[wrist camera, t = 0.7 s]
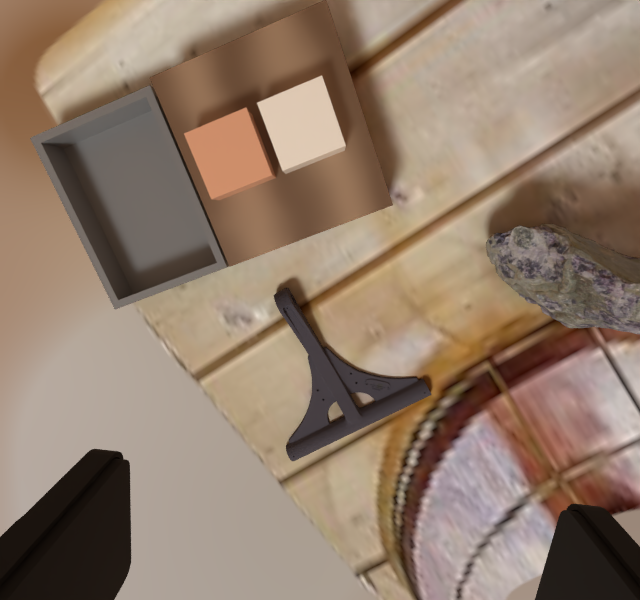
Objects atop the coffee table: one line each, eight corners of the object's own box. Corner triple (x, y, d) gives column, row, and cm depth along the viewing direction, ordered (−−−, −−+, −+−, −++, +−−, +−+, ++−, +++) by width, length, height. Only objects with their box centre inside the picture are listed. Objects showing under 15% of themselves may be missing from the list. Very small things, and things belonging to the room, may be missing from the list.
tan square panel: (326, 28, 29) (325, -1, 25) (385, 206, 32) (392, 205, 28) (172, 95, 31) (149, 77, 27) (241, 260, 33) (229, 266, 30)
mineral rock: (469, 240, 33) (528, 251, 23) (586, 161, 31) (704, 137, 21) (544, 359, 35) (627, 416, 25) (657, 291, 33) (795, 324, 23)
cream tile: (322, 85, 27) (322, 75, 25) (344, 150, 27) (345, 145, 26) (262, 110, 27) (256, 102, 25) (285, 173, 28) (282, 170, 26)
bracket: (354, 249, 34) (355, 252, 31) (428, 389, 36) (436, 403, 33) (215, 325, 36) (205, 334, 33) (295, 453, 38) (292, 472, 35)
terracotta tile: (252, 114, 27) (246, 107, 25) (276, 177, 28) (272, 175, 26) (194, 139, 28) (183, 133, 26) (219, 200, 28) (211, 199, 27)
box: (167, 97, 31) (149, 85, 28) (236, 262, 33) (227, 267, 31) (57, 144, 32) (30, 137, 29) (133, 301, 34) (115, 309, 32)
